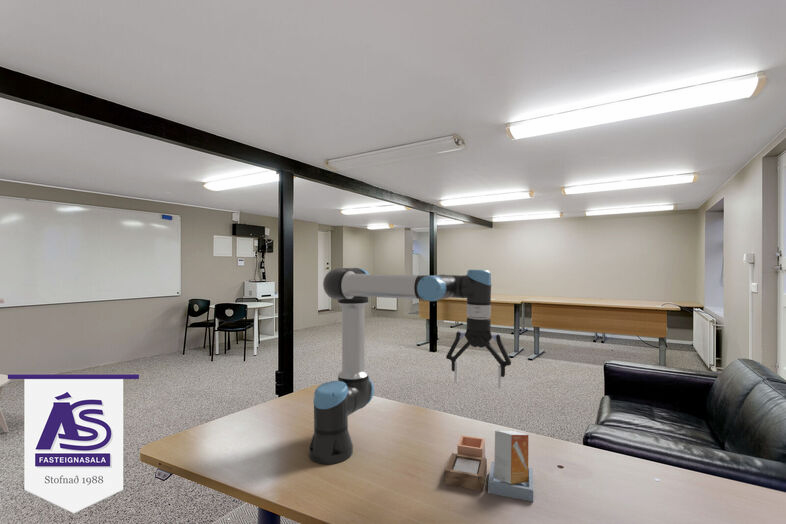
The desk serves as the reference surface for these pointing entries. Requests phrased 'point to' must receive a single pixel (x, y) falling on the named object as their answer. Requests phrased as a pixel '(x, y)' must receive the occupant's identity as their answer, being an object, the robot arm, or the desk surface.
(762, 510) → the desk surface
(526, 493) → the tray
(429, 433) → the desk surface
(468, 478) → the brown wooden square tray
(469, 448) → the pink open box
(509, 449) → the small box
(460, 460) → the plate
